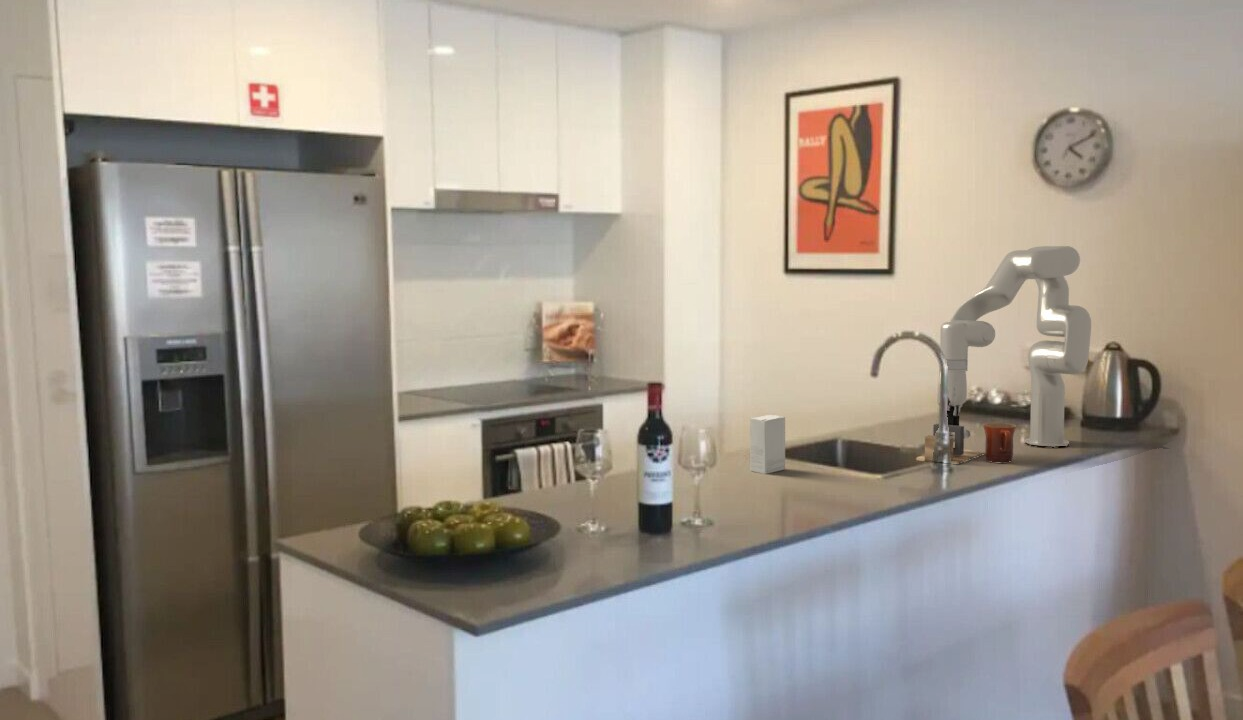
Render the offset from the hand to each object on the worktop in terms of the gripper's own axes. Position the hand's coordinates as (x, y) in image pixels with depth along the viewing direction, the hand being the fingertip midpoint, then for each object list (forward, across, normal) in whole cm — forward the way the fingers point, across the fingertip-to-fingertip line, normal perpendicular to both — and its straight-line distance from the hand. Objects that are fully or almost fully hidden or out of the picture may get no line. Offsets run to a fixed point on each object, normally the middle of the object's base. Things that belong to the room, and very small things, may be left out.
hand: (952, 429), depth 302 cm
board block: (+8, +1, 0) cm, 8 cm away
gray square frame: (+7, +3, 0) cm, 7 cm away
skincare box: (+9, +49, -31) cm, 58 cm away
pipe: (+4, 0, 0) cm, 4 cm away
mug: (+8, 0, +14) cm, 16 cm away
